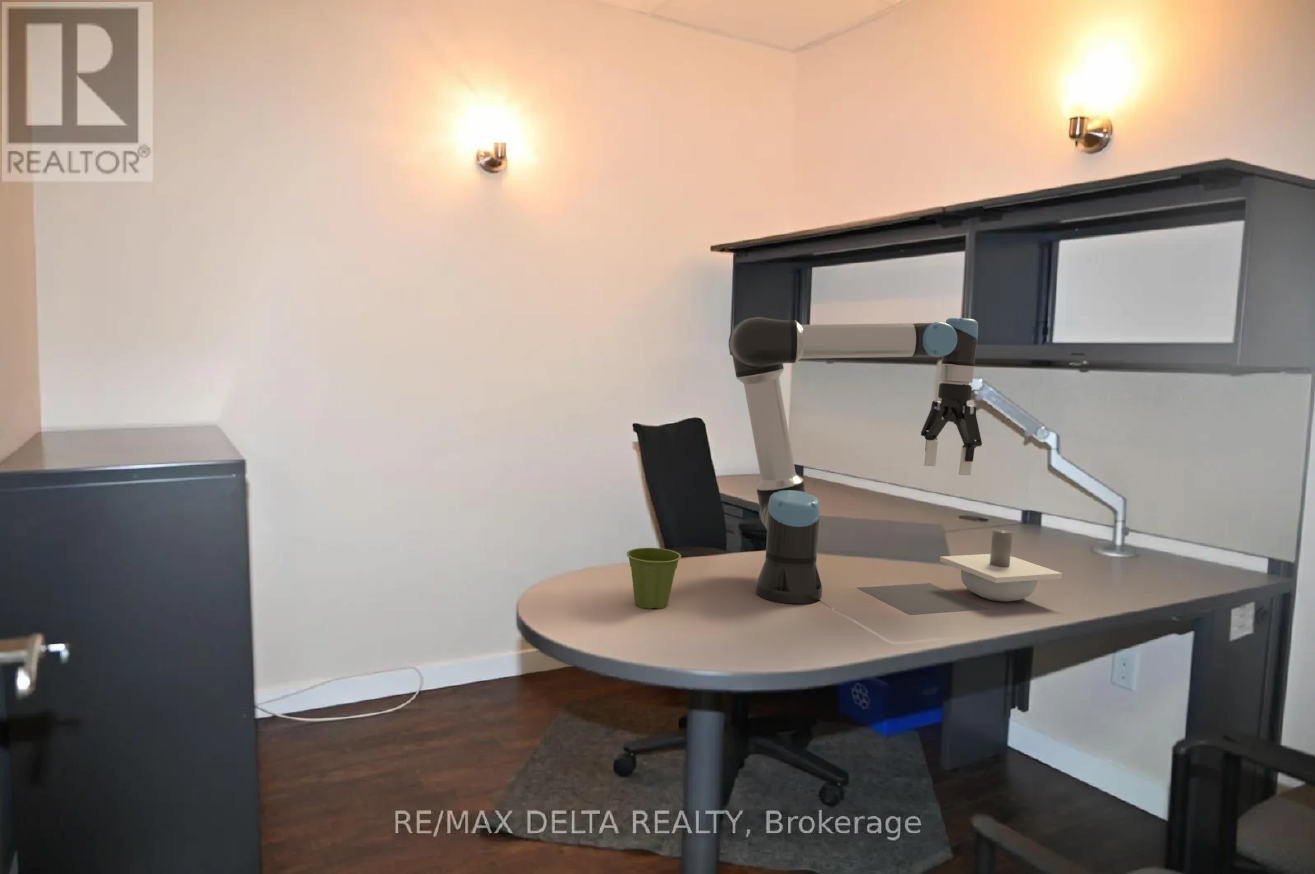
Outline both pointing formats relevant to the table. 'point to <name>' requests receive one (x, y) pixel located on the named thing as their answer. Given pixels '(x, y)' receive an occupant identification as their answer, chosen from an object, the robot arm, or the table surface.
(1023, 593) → the cereal bowl
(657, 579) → the plant pot
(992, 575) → the lid
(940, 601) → the mat
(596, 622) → the table surface
